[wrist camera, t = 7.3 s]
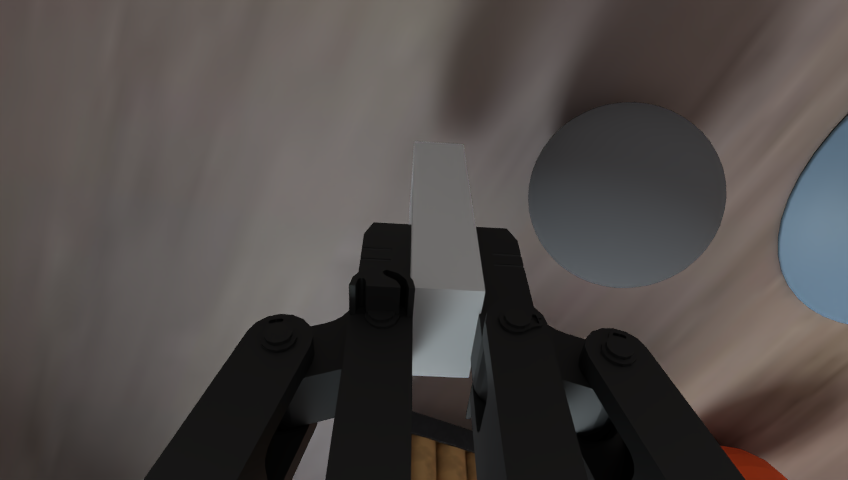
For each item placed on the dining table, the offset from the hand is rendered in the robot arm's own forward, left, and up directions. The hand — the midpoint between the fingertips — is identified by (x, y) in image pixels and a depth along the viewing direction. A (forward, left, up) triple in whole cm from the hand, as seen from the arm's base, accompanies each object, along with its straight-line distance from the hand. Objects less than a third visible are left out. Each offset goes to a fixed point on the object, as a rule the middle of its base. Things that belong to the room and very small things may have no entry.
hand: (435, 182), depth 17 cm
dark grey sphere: (+6, 0, +1) cm, 6 cm away
